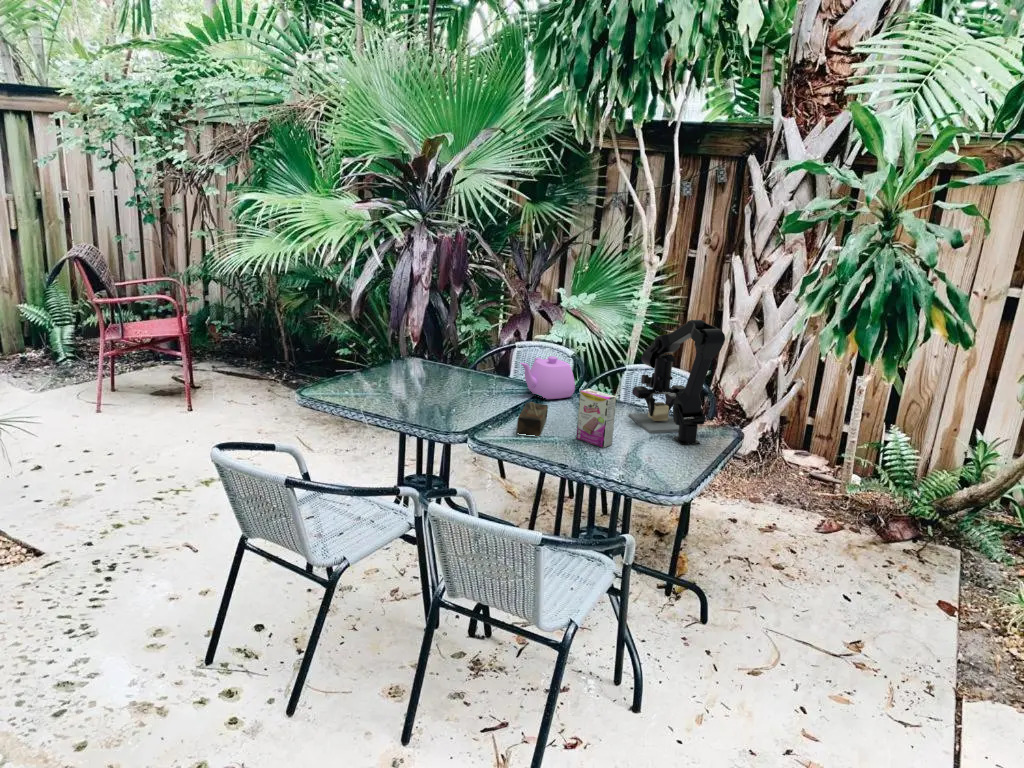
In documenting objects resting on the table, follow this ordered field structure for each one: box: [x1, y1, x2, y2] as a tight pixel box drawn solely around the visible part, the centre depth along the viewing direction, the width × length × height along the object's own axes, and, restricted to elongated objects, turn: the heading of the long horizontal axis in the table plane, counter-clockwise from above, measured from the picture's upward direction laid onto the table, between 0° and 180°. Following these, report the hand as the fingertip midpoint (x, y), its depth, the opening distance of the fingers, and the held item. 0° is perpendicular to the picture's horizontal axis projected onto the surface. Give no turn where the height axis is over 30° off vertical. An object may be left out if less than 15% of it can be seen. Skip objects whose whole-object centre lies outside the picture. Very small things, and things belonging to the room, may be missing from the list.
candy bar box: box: [575, 388, 617, 449], centre depth 239 cm, size 11×5×16 cm, turn 47°
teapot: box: [519, 355, 576, 400], centre depth 288 cm, size 23×21×15 cm
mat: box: [628, 412, 679, 434], centre depth 263 cm, size 18×14×1 cm
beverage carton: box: [516, 401, 549, 437], centre depth 252 cm, size 8×19×7 cm, turn 170°
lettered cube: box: [647, 401, 670, 421], centre depth 261 cm, size 5×5×5 cm
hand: (658, 415), depth 262 cm, fingers closed on lettered cube, 5 cm apart
